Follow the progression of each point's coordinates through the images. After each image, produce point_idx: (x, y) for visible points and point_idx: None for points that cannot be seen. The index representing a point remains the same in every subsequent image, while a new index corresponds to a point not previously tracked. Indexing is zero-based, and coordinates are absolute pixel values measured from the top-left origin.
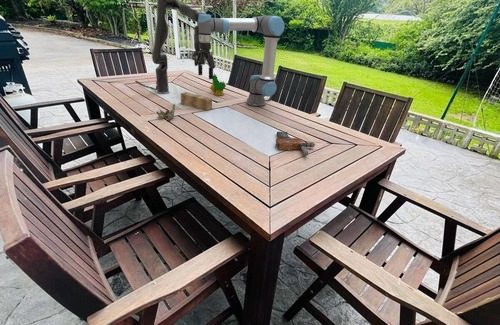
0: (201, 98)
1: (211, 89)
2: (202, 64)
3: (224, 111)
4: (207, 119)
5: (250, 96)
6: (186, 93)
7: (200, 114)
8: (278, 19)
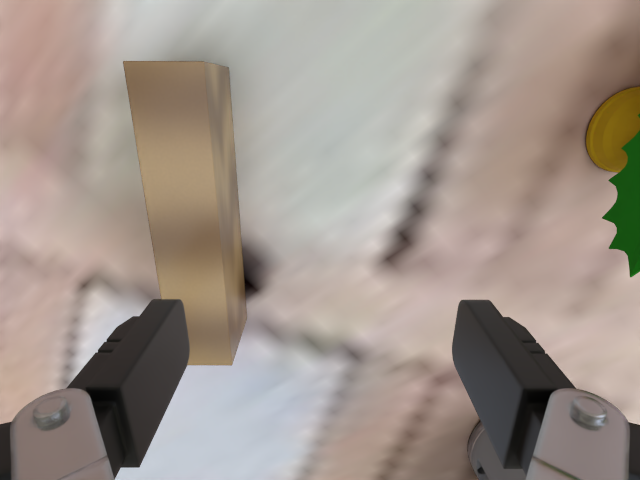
0: None
1: None
2: (458, 309)
3: (263, 391)
4: None
5: (509, 475)
6: (171, 110)
7: (113, 327)
8: None
